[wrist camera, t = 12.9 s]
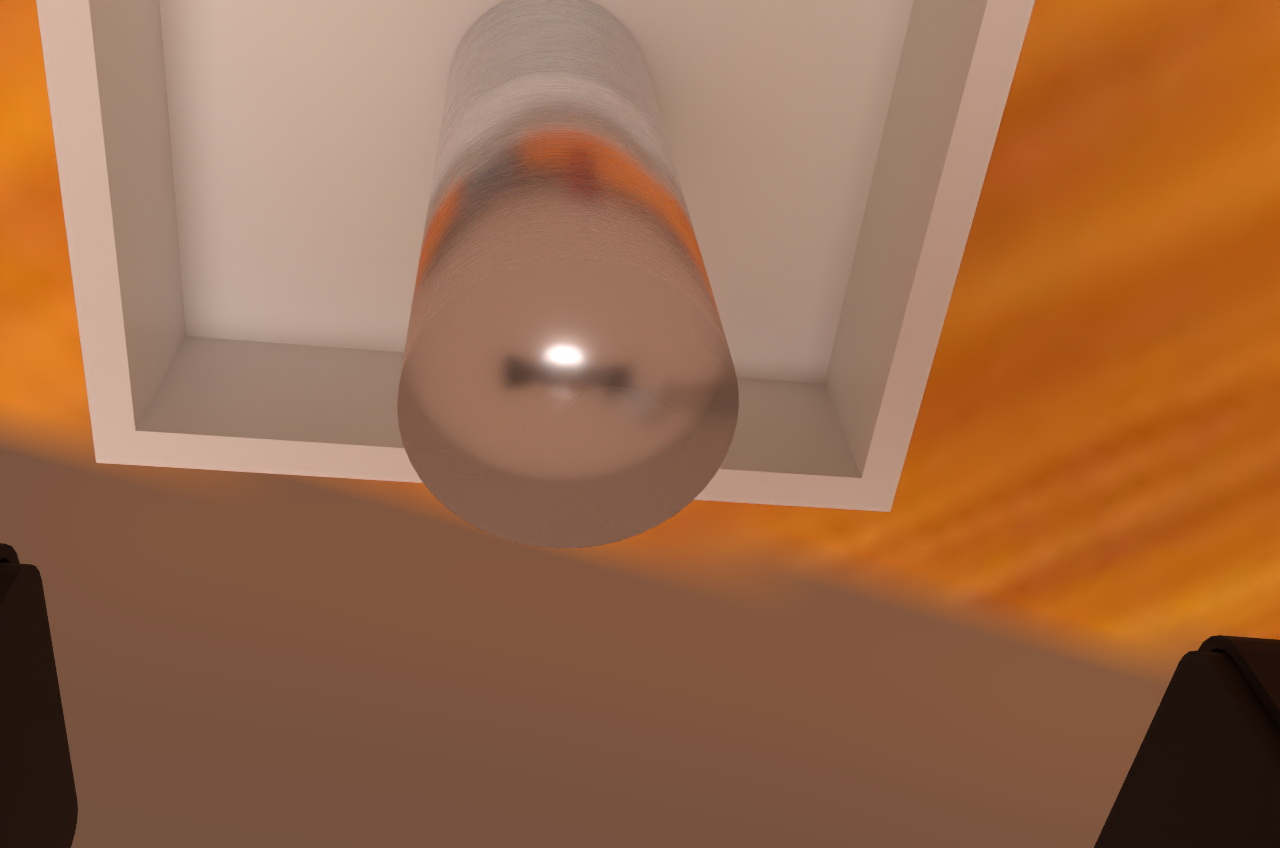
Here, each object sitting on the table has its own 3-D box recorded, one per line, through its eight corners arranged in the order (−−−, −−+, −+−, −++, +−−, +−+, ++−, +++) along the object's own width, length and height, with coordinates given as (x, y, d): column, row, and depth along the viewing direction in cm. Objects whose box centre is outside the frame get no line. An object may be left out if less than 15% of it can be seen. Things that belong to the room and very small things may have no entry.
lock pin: (659, 0, 23) (763, 269, 13) (638, 194, 26) (714, 552, 16) (450, -18, 23) (395, 247, 13) (446, 182, 25) (397, 543, 15)
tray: (1006, -255, 22) (1102, -240, 18) (844, 402, 29) (889, 511, 26) (89, -387, 20) (-16, -400, 16) (157, 352, 27) (96, 462, 24)
